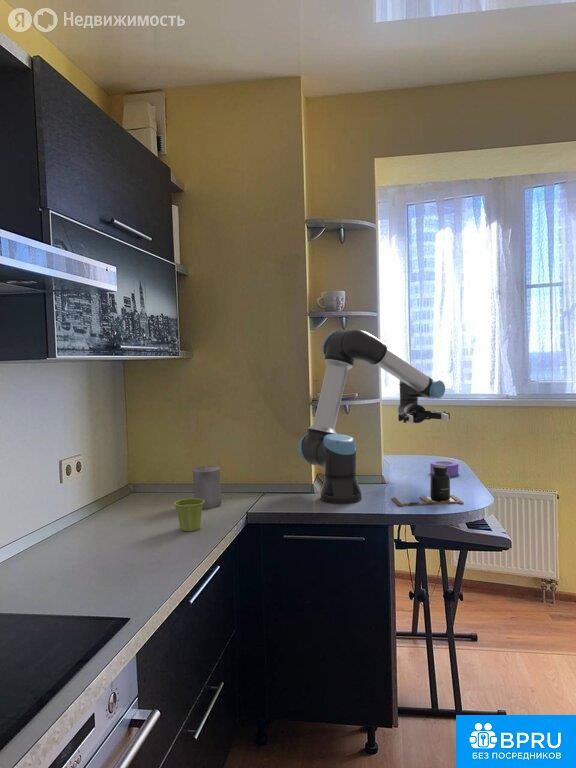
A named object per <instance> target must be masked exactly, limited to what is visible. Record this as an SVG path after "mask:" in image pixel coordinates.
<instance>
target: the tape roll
mask: <svg viewBox="0 0 576 768" xmlns="http://www.w3.org/2000/svg"><path fill="white" fill-rule="evenodd" d="M433 466H446V467H447V472H446V473H447V474H448V475H449V476H452V477H456V476H455V475H457V476H458V475H459V462H457V461H451V460H432V461H430V470H429V471H430V473H429V474H430V475H431V474H433V473H434V472H433Z"/></svg>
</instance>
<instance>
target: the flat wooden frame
mask: <svg viewBox="0 0 576 768" xmlns="http://www.w3.org/2000/svg"><path fill="white" fill-rule="evenodd" d="M419 499H420V500H421V501H423V502H419V501H412V502H410V501H409V502H408V503H401V501H400V500H399V499H398V498H397V497H393V496H392V497H391V500H392V502H393V503H394V504H395V505H396V506H397V507H398V508H403V507H410V506H411V507H412V506H413V507H414V506H431V505H432V506H434V505H435V506H436V505H437V506H438V505H454V504H457V505H464V504H465V503H464V501H463V500H461V499H459V498H458V497H457V496H456V495H454V494H450V500H449V501H441V502H439V501H433V500H432V499H431V496H425V495H420V496H419ZM407 505H408V506H407Z"/></svg>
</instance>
